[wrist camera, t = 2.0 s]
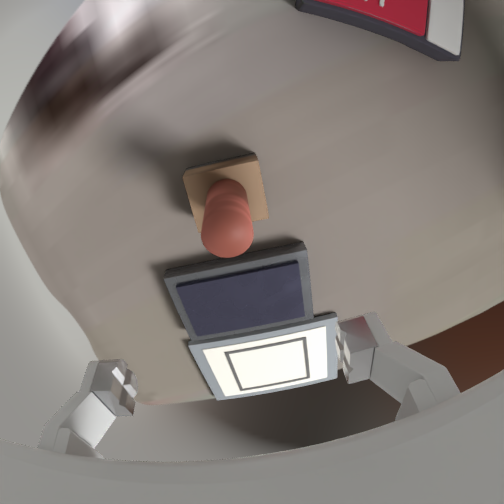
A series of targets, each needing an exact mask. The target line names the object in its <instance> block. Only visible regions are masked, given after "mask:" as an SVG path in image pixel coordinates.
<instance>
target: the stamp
mask: <svg viewBox="0 0 504 504" xmlns="http://www.w3.org/2000/svg"><path fill="white" fill-rule="evenodd" d="M182 178H183V182H184V185H185V189H186V192H187V195H188V199H189V202H190V206H191V209H192V212H193V216H194V219H195V222H196V226H197V229H198V232H199V233H201V239H202V242H203V244H204V246H205V247H206V249H207V250H208V251H209V252H211V253H212V254H214V255H216V256H219V257H224V258H230V257H235V256H238V255H240V254H242V253H244V252H245V251H246V250H247V249H248V248H249V247H250V245H251V243H252V241H253V227H252V222H253V221H258V220H263V219H268V218H269V214H268V209H267V204H266V198H265V193H264V188H263V182H262V177H261V172H260V167H259V162H258V159H257V156H256V154H255V153H253V154H248V155H243V156H238V157H233V158H229V159H224V160H220V161H215V162H211V163H207V164H202V165H198V166H194V167H190V168H187V169H186V171H185V173H184V175H183V177H182Z"/></svg>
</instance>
